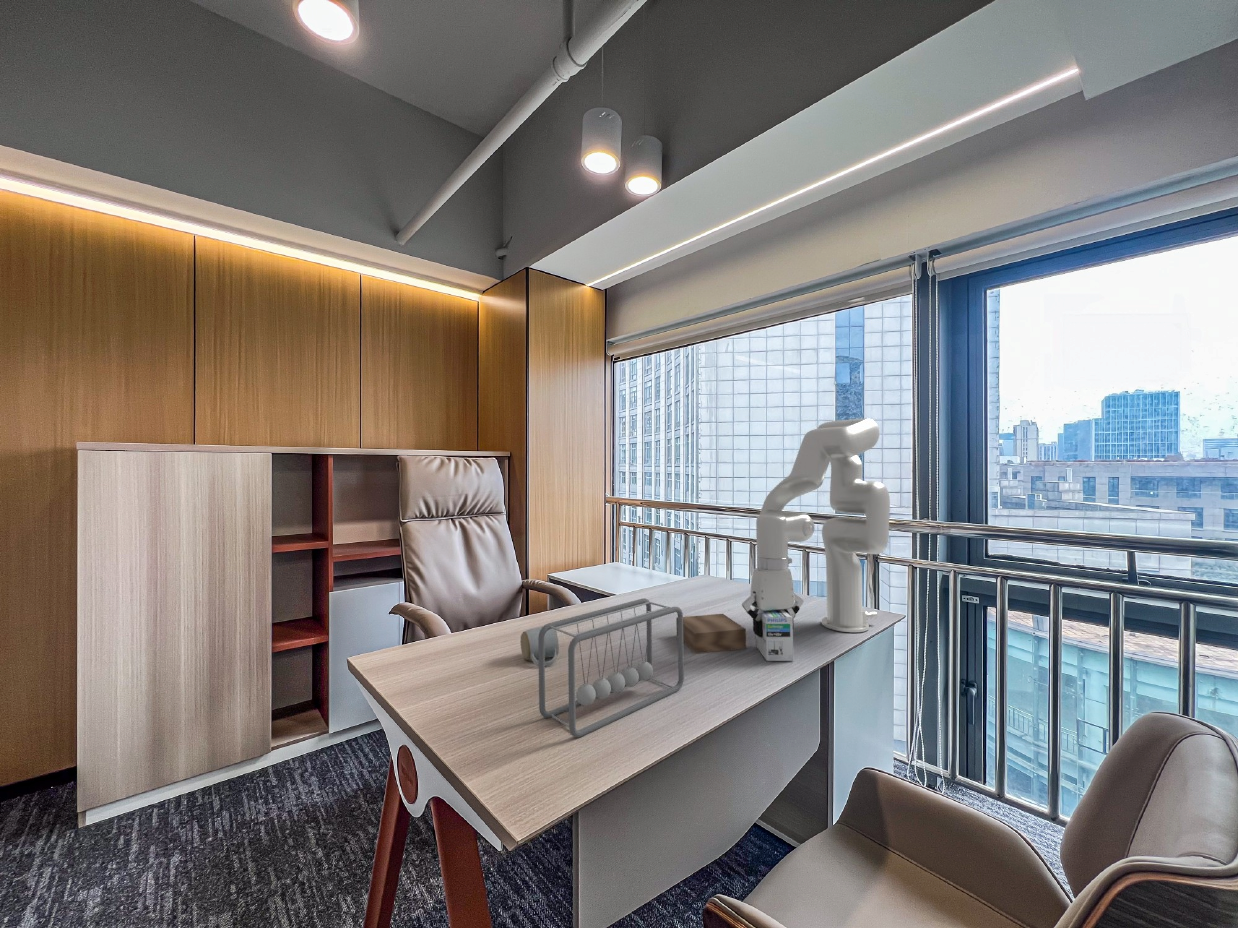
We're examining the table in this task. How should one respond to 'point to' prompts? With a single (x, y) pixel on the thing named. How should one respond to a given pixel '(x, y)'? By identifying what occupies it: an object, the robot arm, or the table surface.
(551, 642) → the ceramic mug
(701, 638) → the walnut block
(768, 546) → the robot arm
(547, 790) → the table surface
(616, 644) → the table surface
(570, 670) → the newton's cradle
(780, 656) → the light bulb box
